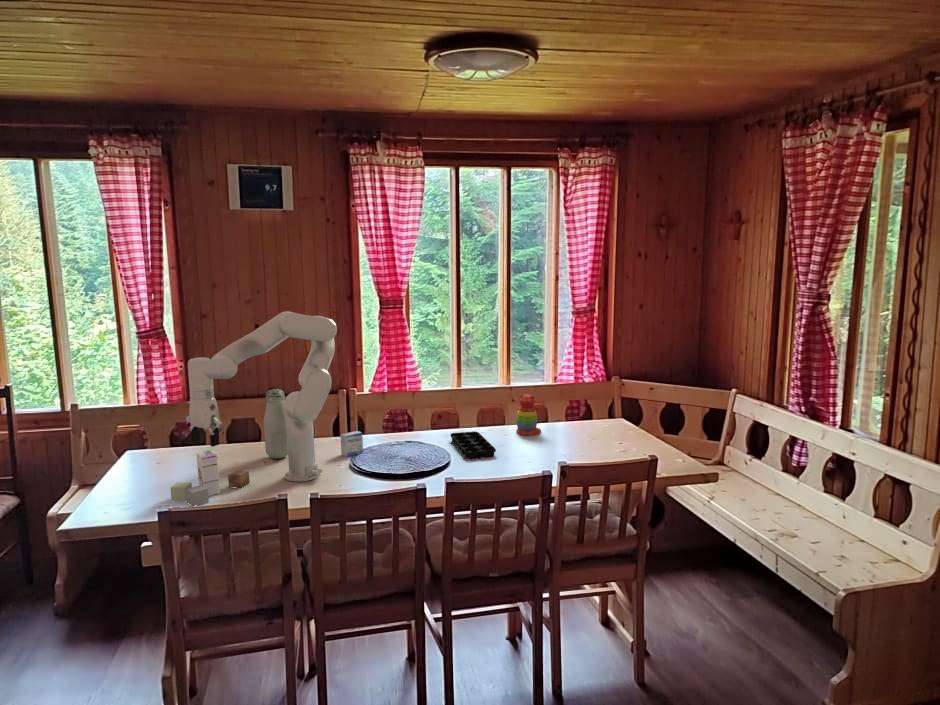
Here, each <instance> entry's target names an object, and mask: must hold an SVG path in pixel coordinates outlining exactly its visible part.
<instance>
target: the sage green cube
mask: <svg viewBox="0 0 940 705" xmlns="http://www.w3.org/2000/svg"><path fill="white" fill-rule="evenodd" d="M192 487H193V482H192V481H188V482H187V481H185V482H183V481H181V482H178V481H177V482H176V483H174V484H173V485H172V486H171V487H170V498H171V499H170V500H171V502H172V501H187V499H186V489H189V488H192Z"/></svg>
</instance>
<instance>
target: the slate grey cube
mask: <svg viewBox="0 0 940 705" xmlns="http://www.w3.org/2000/svg"><path fill="white" fill-rule="evenodd" d="M186 499H187V502H186V504H187V503H189V504H191V505H190V506H191V507H193V506H195V505H200V506H203V505H206V504H208V502H209V501H210V500H209V496H208V488H205V487H203V486H201V485H199V484H198V485H196V486H192V488H189V489H186ZM205 503H206V504H205ZM209 503H210V502H209ZM189 504H188V505H189Z"/></svg>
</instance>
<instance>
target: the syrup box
mask: <svg viewBox="0 0 940 705" xmlns="http://www.w3.org/2000/svg"><path fill="white" fill-rule="evenodd" d="M196 464H197V474H198V486H199V485H201V486H203V487H205V488H208V497H210V495H212V496H215V495H214V494H217V495H219V494H218V493H220V494H221V481H220V472H219V463H218V453H216V452H215V450H213V449H210V450H203V451H199V452H198V451H197V452H196Z"/></svg>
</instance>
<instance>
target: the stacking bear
mask: <svg viewBox="0 0 940 705" xmlns="http://www.w3.org/2000/svg"><path fill="white" fill-rule="evenodd" d="M535 402H536V401H535V395H533V394H527V393H525V394H523V393H522V394H520V395H519V405H520V406H519V408H518V410H517V413H516V418H515V419H516V420H515V421H516V426H517V428H516V431H515V432H516V434H517V435H518V436H522V437H532V436H537V435H539V434H540V433H541V432H542V430H541V428H539V427H537V424H538V414H537V411H536V408H535V407H534V405H535Z"/></svg>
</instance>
